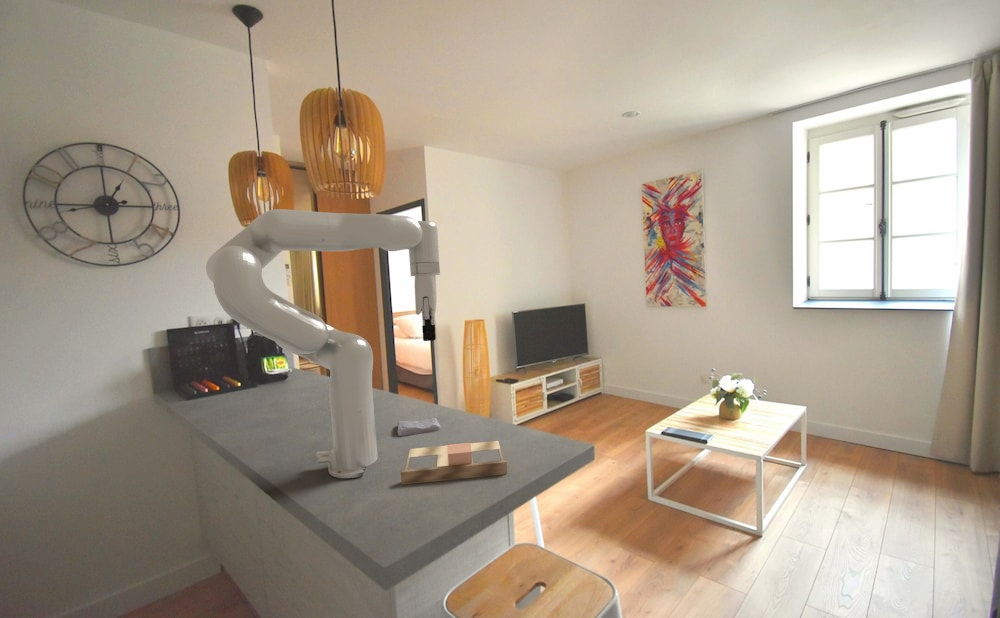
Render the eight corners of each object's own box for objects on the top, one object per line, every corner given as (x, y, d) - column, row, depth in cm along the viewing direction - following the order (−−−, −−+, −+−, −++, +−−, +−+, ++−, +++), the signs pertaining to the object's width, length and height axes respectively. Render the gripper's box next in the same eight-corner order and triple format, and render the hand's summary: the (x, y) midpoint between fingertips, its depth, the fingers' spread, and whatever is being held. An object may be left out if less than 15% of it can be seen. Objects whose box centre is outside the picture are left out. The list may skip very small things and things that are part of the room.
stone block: (395, 437, 124) (398, 443, 115) (395, 420, 125) (397, 424, 115) (437, 432, 128) (442, 437, 118) (436, 415, 128) (441, 419, 119)
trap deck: (402, 490, 89) (400, 472, 89) (410, 454, 107) (409, 439, 107) (507, 480, 91) (506, 462, 91) (498, 446, 109) (497, 431, 109)
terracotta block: (449, 477, 91) (447, 454, 91) (449, 466, 96) (447, 444, 96) (472, 474, 92) (471, 451, 91) (471, 464, 97) (470, 442, 96)
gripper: (412, 270, 119) (417, 337, 120) (407, 270, 104) (412, 346, 105) (440, 269, 119) (444, 335, 121) (438, 269, 104) (443, 343, 106)
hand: (429, 340), depth 113 cm, fingers closed
